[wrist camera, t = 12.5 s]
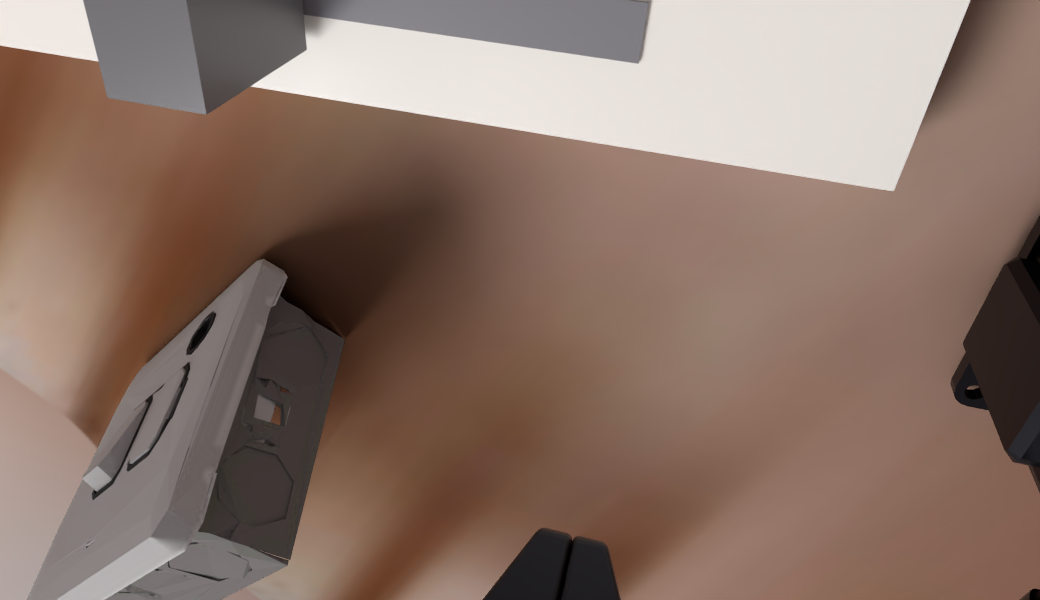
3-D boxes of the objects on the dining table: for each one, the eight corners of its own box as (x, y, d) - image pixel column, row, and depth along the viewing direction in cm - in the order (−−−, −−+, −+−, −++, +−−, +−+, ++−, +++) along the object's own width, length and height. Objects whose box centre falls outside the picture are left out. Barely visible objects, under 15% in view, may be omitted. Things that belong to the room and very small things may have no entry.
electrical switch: (272, 242, 23) (91, 487, 16) (397, 345, 25) (284, 604, 18) (138, 369, 28) (-46, 598, 21) (250, 447, 30) (117, 682, 23)
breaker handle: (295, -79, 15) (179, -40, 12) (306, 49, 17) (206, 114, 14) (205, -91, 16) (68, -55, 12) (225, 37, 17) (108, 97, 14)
